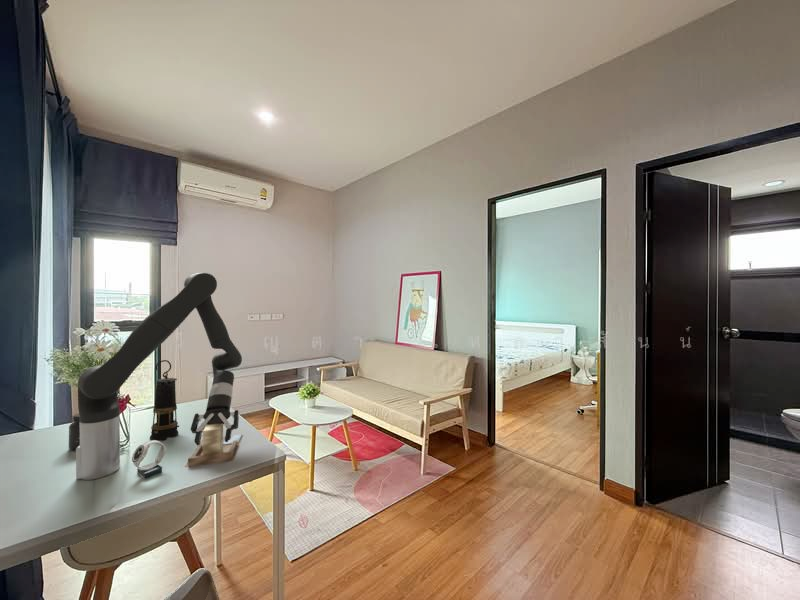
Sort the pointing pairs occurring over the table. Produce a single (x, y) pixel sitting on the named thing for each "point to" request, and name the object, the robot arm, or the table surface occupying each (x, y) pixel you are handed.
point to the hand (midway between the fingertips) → (212, 442)
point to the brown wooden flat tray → (227, 455)
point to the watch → (153, 467)
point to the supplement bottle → (74, 433)
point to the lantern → (164, 408)
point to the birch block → (213, 439)
